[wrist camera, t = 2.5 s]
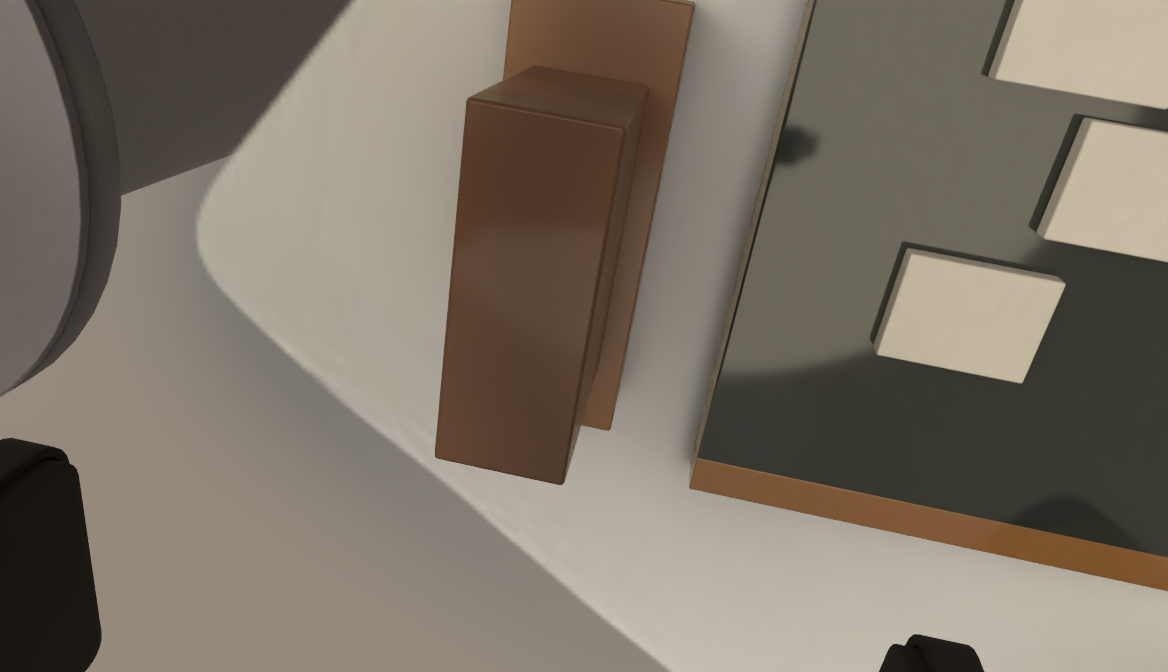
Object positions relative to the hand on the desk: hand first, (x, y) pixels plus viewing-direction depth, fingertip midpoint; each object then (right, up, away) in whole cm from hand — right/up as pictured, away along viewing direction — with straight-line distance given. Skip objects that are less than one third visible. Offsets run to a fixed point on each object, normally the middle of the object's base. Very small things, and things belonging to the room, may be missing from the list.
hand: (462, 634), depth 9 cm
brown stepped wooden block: (+1, +7, +15) cm, 16 cm away
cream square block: (+13, +11, +10) cm, 20 cm away
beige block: (+15, +7, +11) cm, 20 cm away
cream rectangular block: (+12, +4, +13) cm, 18 cm away
